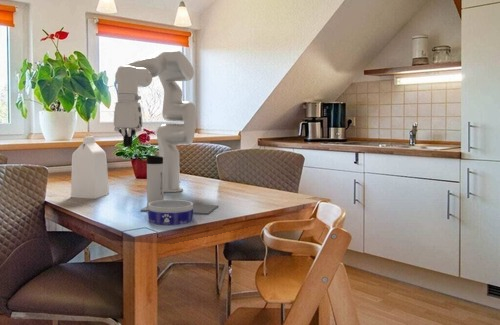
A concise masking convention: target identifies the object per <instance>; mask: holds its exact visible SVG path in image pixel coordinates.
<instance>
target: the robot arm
mask: <svg viewBox="0 0 500 325" xmlns="http://www.w3.org/2000/svg"><path fill="white" fill-rule="evenodd" d="M194 71H195V70H194V68H193V64H192V63H191V62H190V60H189V59H188V58H187V57H186V55H185V54H184V53H183V52H182V51H180V50H178V49H174V50H173V49H171V50H170V49H168V50H164V49H163V50H157V51H155V52H154V53H153V54H151V55H149V56H148V57H146V58H143V59H139V60H135V61H132V62H129V63H126V64H124V65H120V66H118V68H117V71H116V72H115V75H114V77H115V78H114V79H115V82H116V84H117V90H116V91H117V102H115V104H114V105H115V106H114V111H113V112H114V113H113V126H114V129H113V131H114V132H117V133H120V134H121V136H122V137H123V138H122V142H123V147H124V148H130V147H132V145H133V137H134V136H135V134H136V133H140V132H142V127H143V112H142V106H141V102H139V100H142V96H141V95H139V91H138V89H139V88H147V87H149V86H150V85H151V84H152V82H153V78H155V77H158V79H159V80H160V83H161V85H162V88H163V102H162V111H161V113H162V114H161V115H162V118H163V120H164V121H167V122H175V123H164V124H161V125H159V126H158V127H157V129H156V138H157V145H158V156H160V157H163V181H164V193H179V192H180V193H181V192H182V191H183V190H184V187H182V186H180V185H181V180H180V179H181V178H180V176H181V175H180V174H181V173H180V168H181V167H180V164H181V163H180V151H179V149H178V148H177V146H176V145H185V146H186V145H191V144H193V142H194V139H195V134H196V132H195V131H196V122H197V108H196V105H195V104H194V103H193V102H192V101H185V100H184V101H183V90H182V88H181V87H180V85H179V84H178V83H177V82H189V81H191V80H193V77H194V73H195V72H194ZM177 122H178V123H177ZM179 122H182V123H179Z"/></svg>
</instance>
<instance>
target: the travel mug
mask: <svg viewBox="0 0 500 325" xmlns="http://www.w3.org/2000/svg"><path fill="white" fill-rule="evenodd" d="M145 157H146V187H147V188H146V189H147V190H146V202H147V204H146V207H147V206H148V204H149V203H150V202H153V201H159V200H165V199H164V198H165V197H164V195H165V194H164V193H165V192H164V181H163V157H160V156H159V155H149V154H145Z"/></svg>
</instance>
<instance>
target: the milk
mask: <svg viewBox="0 0 500 325" xmlns="http://www.w3.org/2000/svg"><path fill="white" fill-rule="evenodd" d="M107 160H108V159H107V153H106V151H105V150H104V149H103V148H102V147H101V146H100V144H98V143H96V138H95V136H92V135H91V136H84V137H83V141H82V143H81V144H80V145H79V147H77V149H75V150H74V151H73V152H72V155H71V175H70V176H71V182H70V183H71V184H70V185H71V186H70V188H71V189H70V197H71V198H80V199H81V198H82V199H98V198H101V197H105V196H107V195H109V194H110V188H109V187H110V186H109V175H108V163H107V162H108V161H107Z"/></svg>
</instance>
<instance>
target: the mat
mask: <svg viewBox="0 0 500 325" xmlns="http://www.w3.org/2000/svg"><path fill="white" fill-rule="evenodd" d="M217 208H219V205H217V204H216V205H215V204H198V203H197V204H196V203H195V204H194V203H193V215H209V214H211V213H212V212H213V211H215V210H216V209H217ZM140 212H148V206H147V205H146V206H145V207H143V208H141V209H140Z"/></svg>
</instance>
